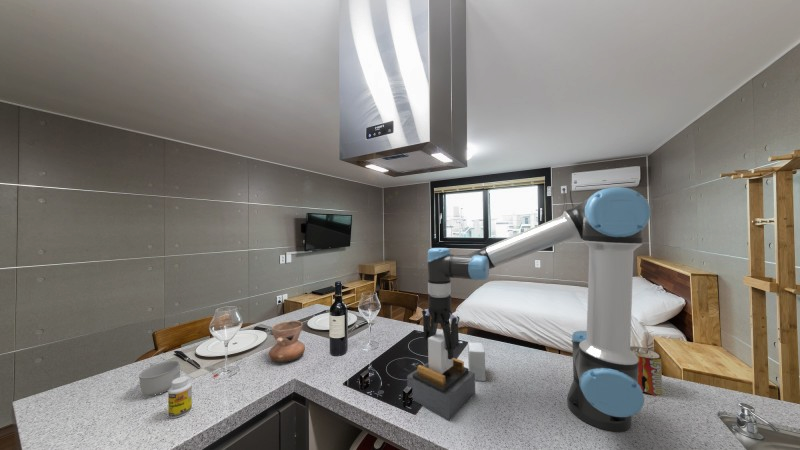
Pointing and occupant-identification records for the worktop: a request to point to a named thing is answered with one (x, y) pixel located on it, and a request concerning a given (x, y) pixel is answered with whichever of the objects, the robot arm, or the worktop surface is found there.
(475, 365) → the small box
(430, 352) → the block
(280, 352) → the ceramic jug
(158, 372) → the gray oval bowl
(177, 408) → the supplement bottle
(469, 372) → the grey fixture base
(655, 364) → the beverage can
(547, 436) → the worktop surface
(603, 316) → the robot arm
